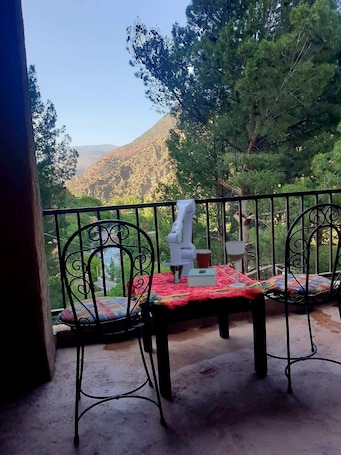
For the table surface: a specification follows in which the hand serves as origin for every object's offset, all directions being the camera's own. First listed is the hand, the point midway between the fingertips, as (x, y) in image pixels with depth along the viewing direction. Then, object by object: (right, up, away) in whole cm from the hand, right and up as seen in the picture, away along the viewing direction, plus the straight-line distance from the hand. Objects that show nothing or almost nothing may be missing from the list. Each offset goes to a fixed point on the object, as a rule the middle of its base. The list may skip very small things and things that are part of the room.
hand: (177, 279), depth 196 cm
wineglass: (+30, -1, -14) cm, 33 cm away
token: (0, -2, 0) cm, 2 cm away
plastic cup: (+17, +2, +24) cm, 30 cm away
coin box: (+13, -1, -5) cm, 14 cm away
